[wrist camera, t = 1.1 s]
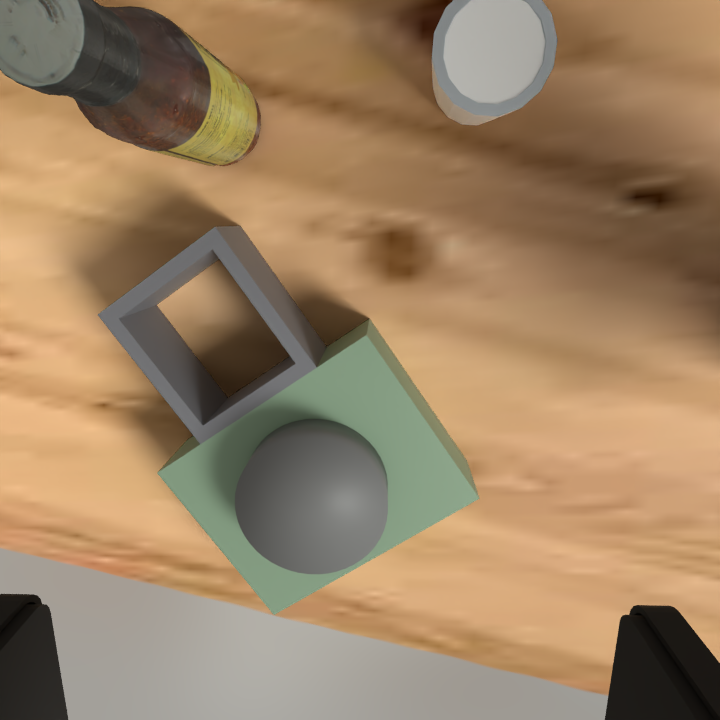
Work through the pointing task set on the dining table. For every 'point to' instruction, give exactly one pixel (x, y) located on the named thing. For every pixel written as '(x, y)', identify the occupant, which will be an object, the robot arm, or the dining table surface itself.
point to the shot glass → (491, 57)
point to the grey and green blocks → (293, 435)
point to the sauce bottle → (131, 77)
